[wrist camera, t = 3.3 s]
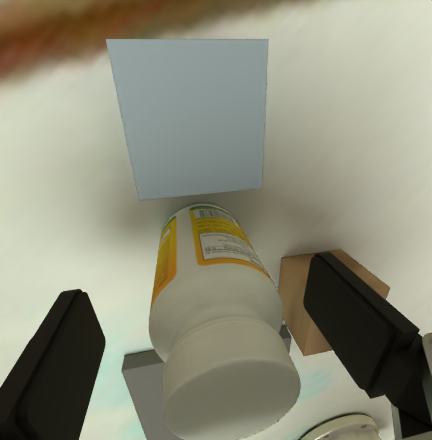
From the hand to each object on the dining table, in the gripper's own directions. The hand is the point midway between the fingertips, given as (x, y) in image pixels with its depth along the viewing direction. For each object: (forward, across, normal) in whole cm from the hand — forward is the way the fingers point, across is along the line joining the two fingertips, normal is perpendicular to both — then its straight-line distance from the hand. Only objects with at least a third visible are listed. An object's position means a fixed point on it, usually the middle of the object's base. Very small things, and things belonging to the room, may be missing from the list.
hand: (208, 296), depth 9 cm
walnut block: (+6, -9, +6) cm, 12 cm away
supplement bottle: (+6, 0, +1) cm, 6 cm away
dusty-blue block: (+6, 0, -6) cm, 9 cm away
